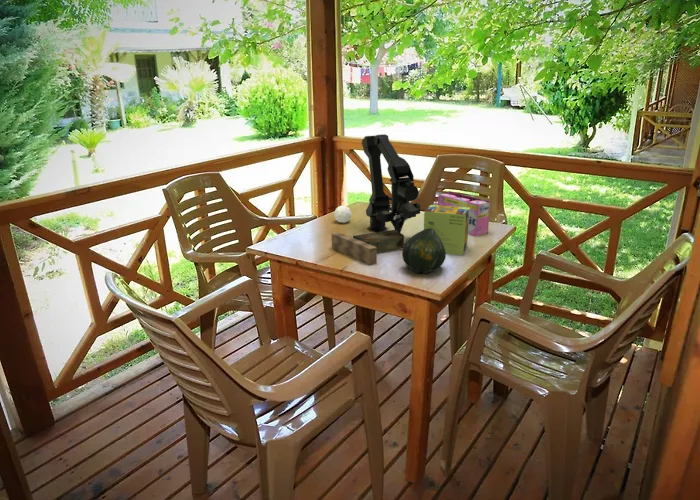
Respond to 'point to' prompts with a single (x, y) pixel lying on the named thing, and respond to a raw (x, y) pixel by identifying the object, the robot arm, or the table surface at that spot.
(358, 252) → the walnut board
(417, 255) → the squash
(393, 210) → the robot arm
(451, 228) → the protein box
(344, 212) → the ball
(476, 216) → the gum box
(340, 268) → the table surface
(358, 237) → the printed cardboard box
